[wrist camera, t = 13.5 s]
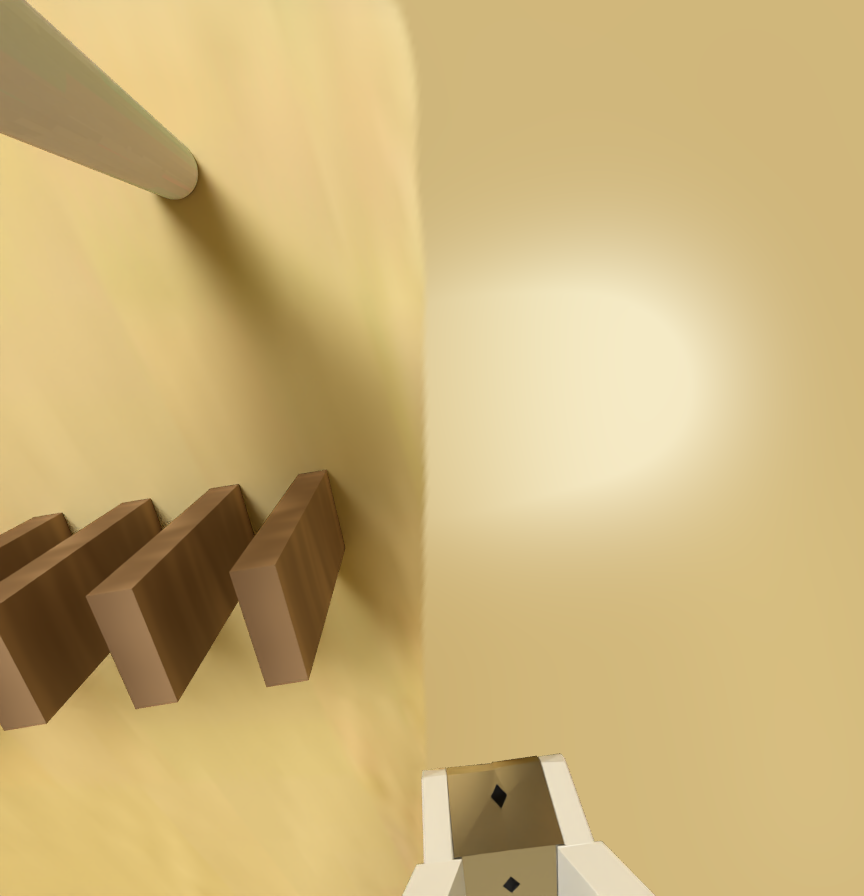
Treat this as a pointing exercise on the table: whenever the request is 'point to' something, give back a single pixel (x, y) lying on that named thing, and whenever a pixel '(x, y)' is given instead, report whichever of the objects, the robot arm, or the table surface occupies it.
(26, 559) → the domino
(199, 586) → the domino
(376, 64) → the table surface
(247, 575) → the domino
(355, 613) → the table surface
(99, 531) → the domino
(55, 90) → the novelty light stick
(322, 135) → the table surface
